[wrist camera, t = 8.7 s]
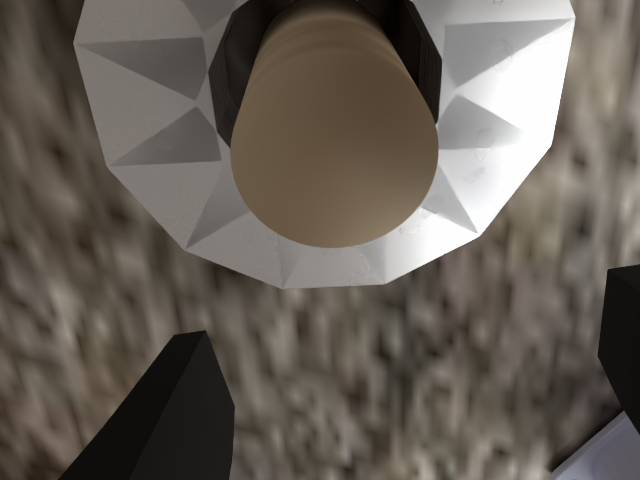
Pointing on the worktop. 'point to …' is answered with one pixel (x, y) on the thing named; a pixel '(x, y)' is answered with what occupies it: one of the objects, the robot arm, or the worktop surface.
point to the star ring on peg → (221, 112)
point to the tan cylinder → (332, 129)
